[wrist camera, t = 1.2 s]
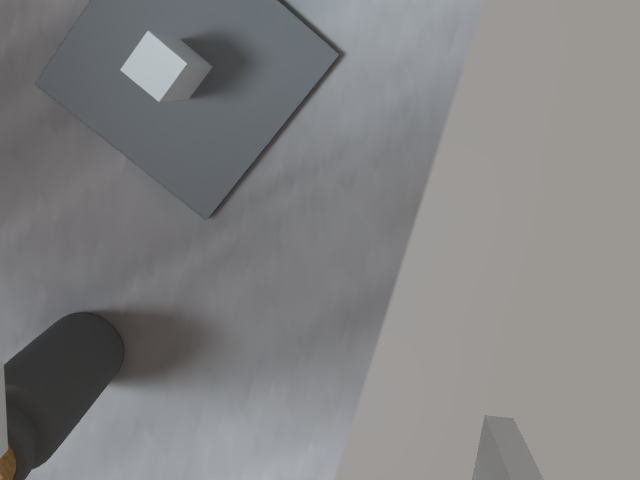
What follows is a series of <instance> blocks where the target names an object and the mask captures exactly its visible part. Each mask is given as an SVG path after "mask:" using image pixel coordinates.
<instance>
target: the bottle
mask: <svg viewBox="0 0 640 480" xmlns="http://www.w3.org/2000/svg"><path fill="white" fill-rule="evenodd" d="M123 357H124V348H123V343H122V340H121V338H120V336H119V334H118V333H117V331H116V330H115V328H114V327H113V326H112V325H111V324H109V323H108V322H107V321H106V320H104V319H102V318H100V317H98V316H96V315H92V314H88V313H75V314H70V315H68V316H65V317H63V318H62V319H60V320H59V321H57V322H56V323H54V324H53V325H52V326H51V327H49V328H48V329H47V330H46V331H44V332H43V333H42V334H41V335H39V336H38V337H37V338H36V339H35V340H33V341H32V342H31V343H30V344H29V345H27V346H26V347H25V348H24V349H23V350H21V351H20V352H19V353H18V354H16V355H15V356H14V357H13V358H12V359H10V360H9V361H8V362H7V363H6V364H4V378H5V398H6V417H7V436H8V450H7V452H6V453H5V454H4V455H3V456H2V457H1V458H0V480H25V478H26V477H27V476H28V474H29V473H30V471H31V470H32V469H34V468H37V467H39V466H40V465H42V464H43V463H45V462H46V461H47V460H48V459H49V458H50V457H51V456H52V455H53V453H54V452H55V451H56V450H57V448H58V447H59V446H60V445H61V444H62V442H63V441H64V440H65V439H66V437H67V436H68V435H69V434H70V432H71V431H72V430H73V429H74V427H75V426H76V425H77V424H78V422H79V421H80V420H81V418H82V417H83V416H84V415H85V413H86V412H87V411H88V409H89V408H90V407H91V406H92V404H93V403H94V402H95V401H96V399H97V398H98V397H99V395H100V394H101V393H102V392H103V390H104V389H105V388H106V386H107V385H108V384H109V383H110V381H111V380H112V379H113V377H114V376H115V375H116V373H117V372H118V370H119V369H120V367H121V364H122V362H123Z"/></svg>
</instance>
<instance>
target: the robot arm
mask: <svg viewBox="0 0 640 480" xmlns="http://www.w3.org/2000/svg"><path fill="white" fill-rule="evenodd" d="M7 450H8V436H7V417H6V398H5V378H4V362H0V458H1V457H2V456H3V455H4V454H5V453H6V452H7ZM472 480H544V479H543V478H542V475H541V473H540V471H539V469H538V467H537V466H536V463H535V461H534V459H533V457H532V455H531V454H530V451H529V449H528V447H527V445H526V443H525V441H524V439H523V437H522V435H521V433H520V431H519V429H518V427H517V425H516V423H515V421H514V419H512V418H503V417H494V416H485V417H484V422H483V427H482V433H481V437H480V443H479V448H478V453H477V458H476V463H475V468H474V473H473V478H472Z"/></svg>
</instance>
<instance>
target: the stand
mask: <svg viewBox="0 0 640 480" xmlns="http://www.w3.org/2000/svg"><path fill="white" fill-rule="evenodd" d="M338 56H339V54H338V53H337V52H336V51H335V50H333V49H332V48H331V47H330V46H329V45H328V44H327V43H325V42H324V41H323V40H322V39H321V38H320V37H319V36H318V35H316V34H315V33H314V32H313V31H312V30H311V29H310V28H308V27H307V26H306V25H305V24H304V23H303V22H302V21H300V20H299V19H298V18H297V17H296V16H295V15H294V14H293V13H291V12H290V11H289V10H288V9H287V8H286V7H285V6H283V5H282V4H281V3H280V2H279V1H278V0H90V2H89V3H88V5H87V6H86V8H85V9H84V11H83V12H82V14H81V15H80V17H79V18H78V20H77V21H76V23H75V24H74V26H73V27H72V29H71V30H70V32H69V33H68V35H67V36H66V38H65V39H64V41H63V42H62V44H61V45H60V47H59V48H58V50H57V51H56V53H55V54H54V56H53V57H52V59H51V60H50V62H49V63H48V65H47V66H46V68H45V69H44V71H43V72H42V74H41V75H40V77H39V78H38V80H37V81H36V83H35V84H36V85H37V86H38V87H39V88H41V89H42V90H43V91H44V92H46V93H47V94H48V95H49V96H51V97H52V98H53V99H54V100H56V101H57V102H58V103H59V104H61V105H62V106H63V107H64V108H66V109H67V110H68V111H70V112H71V113H72V114H73V115H75V116H76V117H77V118H78V119H80V120H81V121H82V122H83V123H85V124H86V125H87V126H88V127H90V128H91V129H92V130H93V131H95V132H96V133H97V134H98V135H100V136H101V137H102V138H103V139H105V140H106V141H107V142H108V143H110V144H111V145H112V146H113V147H115V148H116V149H117V150H119V151H120V152H121V153H122V154H124V155H125V156H126V157H127V158H129V159H130V160H131V161H132V162H134V163H135V164H136V165H137V166H139V167H140V168H141V169H142V170H144V171H145V172H146V173H147V174H149V175H150V176H151V177H152V178H154V179H155V180H156V181H157V182H159V183H160V184H161V185H162V186H164V187H165V188H166V189H168V190H169V191H170V192H171V193H173V194H174V195H175V196H176V197H178V198H179V199H180V200H181V201H183V202H184V203H185V204H186V205H188V206H189V207H190V208H191V209H193V210H194V211H195V212H196V213H198V214H199V215H200V216H201V217H203V218H204V219H205V220H207V219H208V218H209V217H210V216H211V214H212V213H213V212H214V211H215V209H216V208H217V207H218V206H219V204H220V203H221V202H222V201H223V199H224V198H225V197H226V196H227V194H228V193H229V192H230V191H231V189H232V188H233V187H234V186H235V184H236V183H237V182H238V181H239V179H240V178H241V177H242V176H243V175H244V173H245V172H246V171H247V170H248V168H249V167H250V166H251V165H252V163H253V162H254V161H255V160H256V158H257V157H258V156H259V155H260V153H261V152H262V151H263V150H264V148H265V147H266V146H267V145H268V143H269V142H270V141H271V140H272V138H273V137H274V136H275V135H276V133H277V132H278V131H279V130H280V129H281V127H282V126H283V125H284V124H285V122H286V121H287V120H288V119H289V117H290V116H291V115H292V114H293V112H294V111H295V110H296V109H297V107H298V106H299V105H300V104H301V102H302V101H303V100H304V99H305V97H306V96H307V95H308V94H309V92H310V91H311V90H312V89H313V87H314V86H315V85H316V84H317V82H318V81H319V80H320V79H321V78H322V76H323V75H324V74H325V73H326V71H327V70H328V69H329V68H330V66H331V65H332V64H333V63H334V61H335V60H336V59H337V58H338Z"/></svg>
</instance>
